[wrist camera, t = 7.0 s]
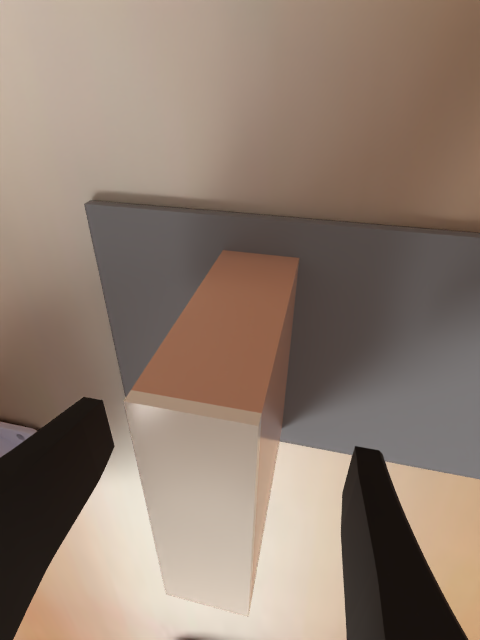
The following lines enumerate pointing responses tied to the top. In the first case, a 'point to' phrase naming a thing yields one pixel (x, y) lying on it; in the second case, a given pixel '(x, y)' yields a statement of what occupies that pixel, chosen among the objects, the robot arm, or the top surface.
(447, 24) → the top surface
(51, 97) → the top surface
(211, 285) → the block
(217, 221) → the mat
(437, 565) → the top surface
